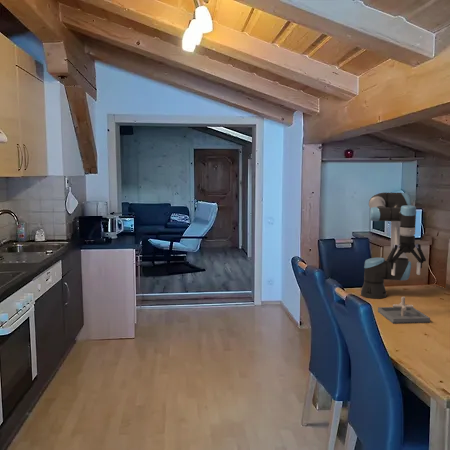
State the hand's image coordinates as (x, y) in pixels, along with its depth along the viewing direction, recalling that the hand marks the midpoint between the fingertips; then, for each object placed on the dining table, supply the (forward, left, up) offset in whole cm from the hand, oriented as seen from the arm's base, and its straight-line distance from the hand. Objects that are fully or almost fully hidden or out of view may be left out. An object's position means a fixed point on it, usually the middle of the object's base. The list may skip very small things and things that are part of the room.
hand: (405, 274), depth 244 cm
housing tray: (+4, -2, -22) cm, 22 cm away
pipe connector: (+4, -2, -21) cm, 22 cm away
